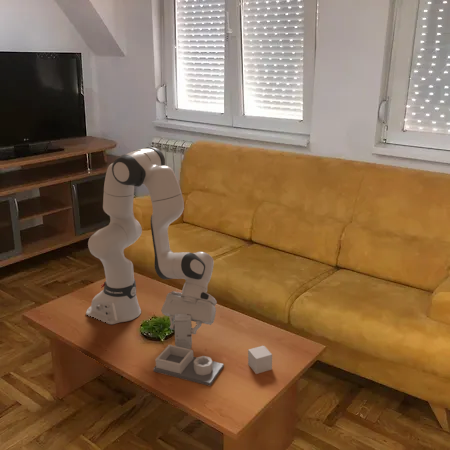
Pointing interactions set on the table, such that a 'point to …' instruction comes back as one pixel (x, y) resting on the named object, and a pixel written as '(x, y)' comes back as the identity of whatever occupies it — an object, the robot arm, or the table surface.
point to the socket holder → (187, 365)
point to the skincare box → (183, 331)
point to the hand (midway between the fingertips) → (182, 331)
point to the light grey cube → (260, 359)
